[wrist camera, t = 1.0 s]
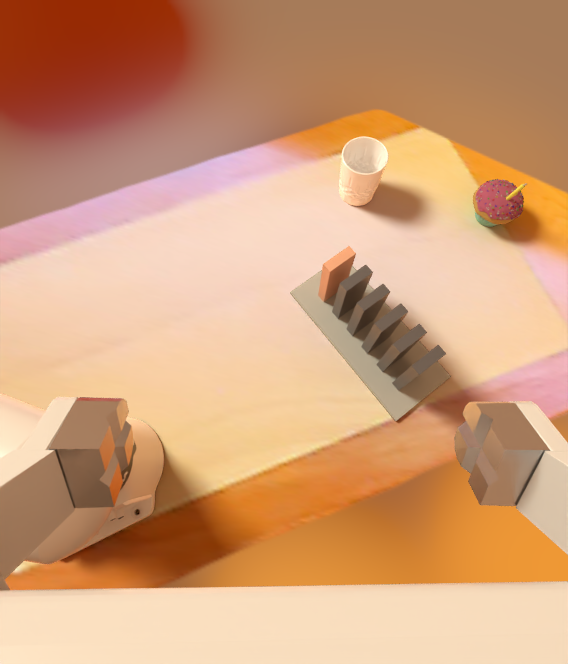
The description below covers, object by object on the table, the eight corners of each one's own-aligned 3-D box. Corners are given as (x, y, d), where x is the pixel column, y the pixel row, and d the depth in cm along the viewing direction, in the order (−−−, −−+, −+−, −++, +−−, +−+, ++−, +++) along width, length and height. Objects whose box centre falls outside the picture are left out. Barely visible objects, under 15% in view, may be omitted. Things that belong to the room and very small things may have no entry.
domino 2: (337, 319, 74) (346, 291, 63) (331, 312, 75) (339, 283, 63) (360, 302, 75) (372, 272, 64) (354, 295, 76) (365, 264, 64)
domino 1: (323, 302, 75) (329, 271, 64) (318, 295, 76) (323, 264, 64) (345, 286, 76) (355, 253, 65) (340, 279, 76) (349, 246, 65)
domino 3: (352, 336, 73) (364, 311, 62) (346, 329, 74) (356, 302, 62) (374, 319, 74) (390, 291, 63) (368, 312, 74) (383, 283, 63)
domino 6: (398, 390, 70) (419, 374, 59) (391, 382, 71) (411, 365, 59) (421, 372, 71) (446, 353, 60) (414, 365, 72) (438, 344, 60)
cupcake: (519, 225, 80) (557, 185, 69) (479, 242, 79) (511, 203, 68) (494, 190, 83) (526, 145, 71) (455, 205, 82) (482, 162, 70)
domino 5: (382, 371, 71) (400, 352, 60) (376, 364, 72) (392, 344, 60) (405, 354, 72) (427, 332, 61) (398, 347, 73) (419, 323, 61)
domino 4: (367, 353, 72) (381, 331, 61) (361, 346, 73) (374, 323, 61) (389, 336, 73) (408, 311, 62) (383, 329, 74) (400, 303, 62)
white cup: (379, 177, 84) (391, 140, 74) (374, 212, 81) (385, 177, 72) (339, 171, 84) (345, 133, 75) (332, 205, 82) (338, 170, 72)
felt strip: (395, 421, 69) (396, 420, 69) (290, 293, 76) (290, 292, 76) (449, 377, 71) (451, 376, 71) (342, 256, 79) (343, 255, 78)
